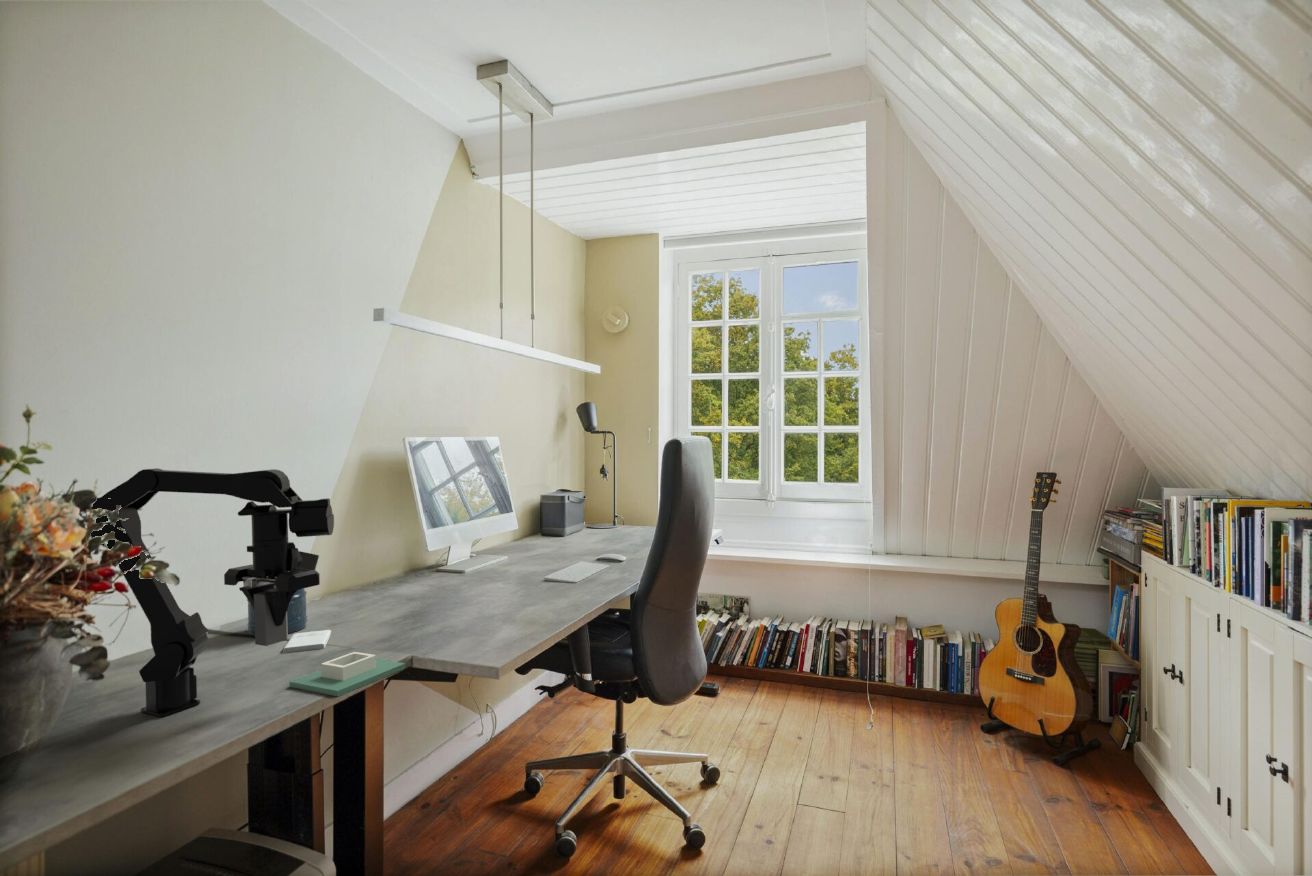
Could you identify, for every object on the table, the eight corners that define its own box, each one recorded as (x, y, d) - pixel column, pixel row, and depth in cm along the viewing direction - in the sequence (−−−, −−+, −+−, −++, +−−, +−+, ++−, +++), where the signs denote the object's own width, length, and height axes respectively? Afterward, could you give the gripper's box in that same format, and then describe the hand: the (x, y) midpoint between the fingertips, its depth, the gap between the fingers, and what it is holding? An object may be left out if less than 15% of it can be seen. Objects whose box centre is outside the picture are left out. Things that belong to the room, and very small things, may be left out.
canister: (306, 632, 165) (305, 560, 165) (245, 640, 159) (243, 565, 159) (308, 620, 177) (306, 552, 177) (250, 627, 171) (248, 557, 171)
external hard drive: (283, 655, 149) (293, 639, 161) (324, 650, 152) (331, 635, 163) (283, 648, 149) (293, 633, 161) (324, 643, 152) (331, 628, 163)
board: (337, 696, 122) (337, 677, 122) (289, 686, 128) (289, 668, 128) (405, 668, 137) (404, 651, 137) (359, 660, 142) (358, 644, 142)
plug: (266, 646, 120) (264, 595, 120) (255, 644, 121) (253, 594, 121) (291, 638, 124) (289, 589, 124) (280, 636, 125) (278, 588, 125)
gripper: (344, 534, 126) (346, 618, 126) (278, 531, 134) (280, 609, 134) (288, 543, 116) (291, 634, 116) (221, 539, 124) (223, 624, 124)
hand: (272, 624), depth 123 cm, fingers closed on plug, 3 cm apart
